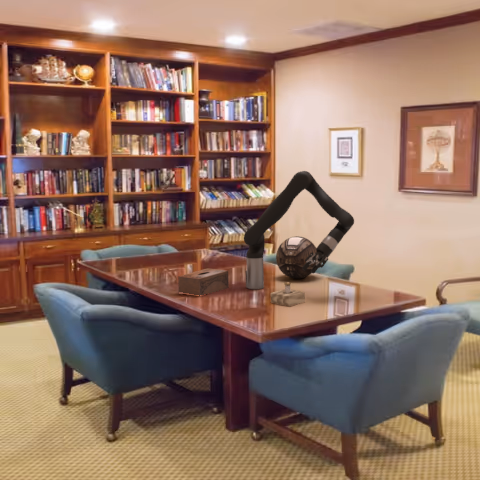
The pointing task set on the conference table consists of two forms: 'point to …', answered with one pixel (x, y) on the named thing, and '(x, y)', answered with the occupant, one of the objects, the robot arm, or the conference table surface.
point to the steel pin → (287, 287)
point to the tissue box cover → (203, 281)
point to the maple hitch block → (287, 297)
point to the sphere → (295, 257)
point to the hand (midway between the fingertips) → (307, 271)
